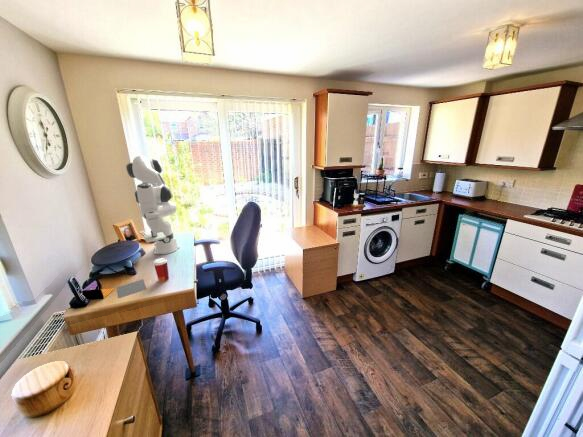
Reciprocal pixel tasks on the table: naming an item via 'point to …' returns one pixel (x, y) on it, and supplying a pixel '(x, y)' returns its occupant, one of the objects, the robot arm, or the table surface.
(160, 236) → the lid
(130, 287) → the mat
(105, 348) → the table surface
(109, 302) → the table surface
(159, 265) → the paper cup
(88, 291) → the miniature room corner
